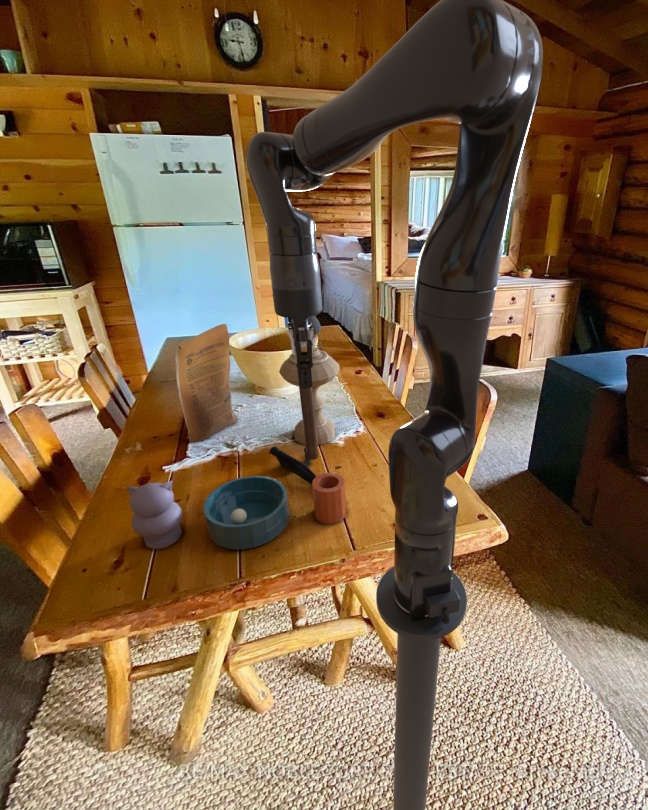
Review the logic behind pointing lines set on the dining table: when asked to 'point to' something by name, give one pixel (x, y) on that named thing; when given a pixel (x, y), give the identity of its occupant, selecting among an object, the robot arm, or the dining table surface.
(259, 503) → the bowl
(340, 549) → the dining table surface
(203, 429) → the pancake mix bag
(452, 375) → the robot arm
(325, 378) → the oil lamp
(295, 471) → the black elongated part
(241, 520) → the ball
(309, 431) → the stick
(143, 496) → the cat figurine
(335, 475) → the holder
